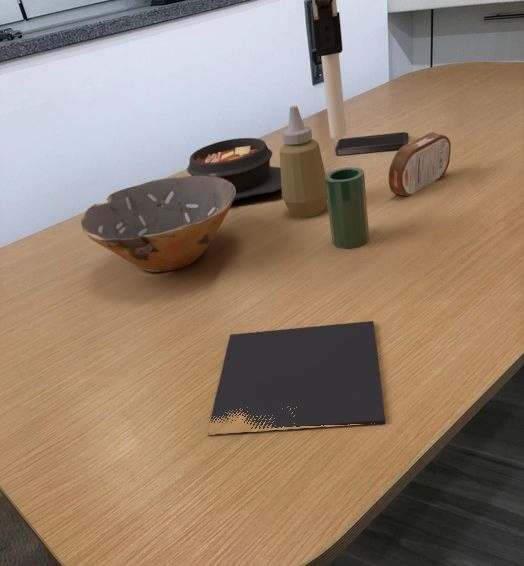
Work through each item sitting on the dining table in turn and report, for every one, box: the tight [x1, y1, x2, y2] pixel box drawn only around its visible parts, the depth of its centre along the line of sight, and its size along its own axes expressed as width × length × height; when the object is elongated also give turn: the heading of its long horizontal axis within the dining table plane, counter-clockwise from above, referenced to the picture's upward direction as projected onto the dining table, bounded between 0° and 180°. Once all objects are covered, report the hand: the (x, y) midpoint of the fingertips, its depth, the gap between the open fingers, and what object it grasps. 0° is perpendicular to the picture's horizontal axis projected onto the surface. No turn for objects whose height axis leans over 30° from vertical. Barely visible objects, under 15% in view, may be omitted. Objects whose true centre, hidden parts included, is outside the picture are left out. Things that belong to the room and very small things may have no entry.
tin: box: [388, 132, 452, 197], centre depth 103 cm, size 15×3×8 cm, turn 133°
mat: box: [209, 320, 386, 429], centre depth 68 cm, size 18×18×1 cm
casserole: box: [186, 137, 282, 202], centre depth 118 cm, size 25×19×8 cm
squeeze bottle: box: [279, 105, 328, 219], centre depth 100 cm, size 8×8×18 cm
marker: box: [320, 3, 347, 139], centre depth 77 cm, size 2×2×16 cm
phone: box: [334, 131, 410, 156], centre depth 128 cm, size 8×1×15 cm
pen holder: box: [325, 167, 370, 250], centre depth 89 cm, size 6×6×11 cm
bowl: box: [79, 175, 236, 273], centre depth 96 cm, size 25×25×10 cm
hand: (329, 50), depth 75 cm, fingers closed on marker, 2 cm apart
